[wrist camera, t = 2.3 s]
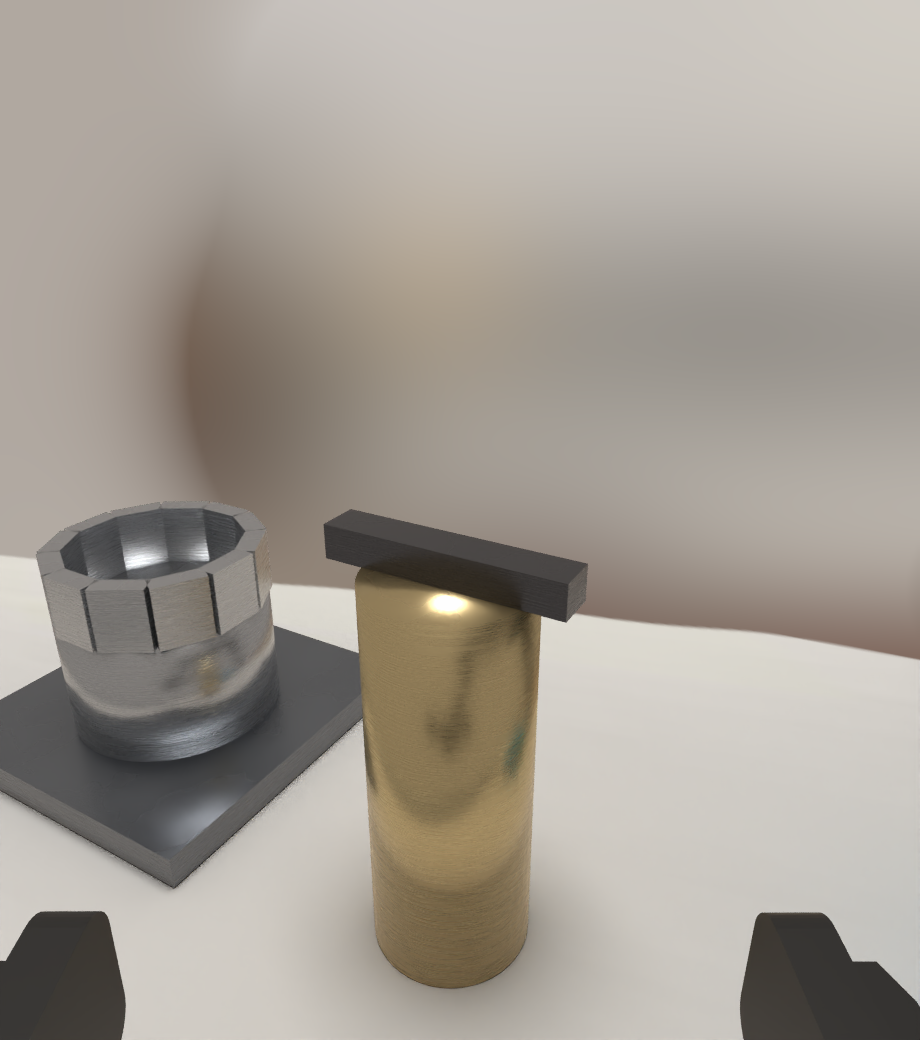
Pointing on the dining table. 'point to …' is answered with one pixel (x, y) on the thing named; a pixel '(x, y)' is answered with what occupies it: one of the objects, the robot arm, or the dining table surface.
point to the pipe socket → (169, 686)
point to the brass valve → (450, 735)
